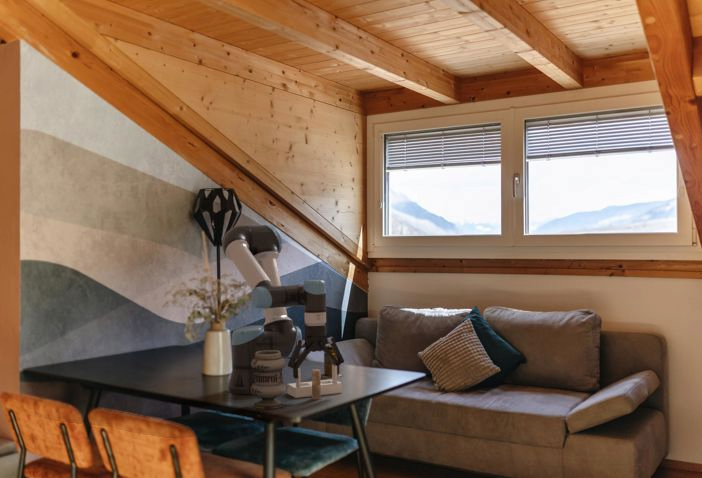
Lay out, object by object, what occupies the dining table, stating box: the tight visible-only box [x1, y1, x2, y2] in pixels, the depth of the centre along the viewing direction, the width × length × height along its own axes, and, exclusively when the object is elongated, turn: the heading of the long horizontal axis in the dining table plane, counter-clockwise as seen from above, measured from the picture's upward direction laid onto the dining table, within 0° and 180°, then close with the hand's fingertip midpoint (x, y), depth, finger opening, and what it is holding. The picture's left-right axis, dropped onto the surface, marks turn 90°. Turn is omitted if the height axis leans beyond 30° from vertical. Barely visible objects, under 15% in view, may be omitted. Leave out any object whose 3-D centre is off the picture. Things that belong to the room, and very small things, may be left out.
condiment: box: [320, 344, 343, 378], centre depth 292 cm, size 7×8×12 cm
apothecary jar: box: [250, 350, 288, 410], centre depth 239 cm, size 12×12×18 cm
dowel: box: [311, 368, 322, 401], centre depth 248 cm, size 3×3×10 cm
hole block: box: [286, 379, 343, 399], centre depth 258 cm, size 18×8×4 cm, turn 115°
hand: (316, 385), depth 248 cm, fingers open, 13 cm apart
